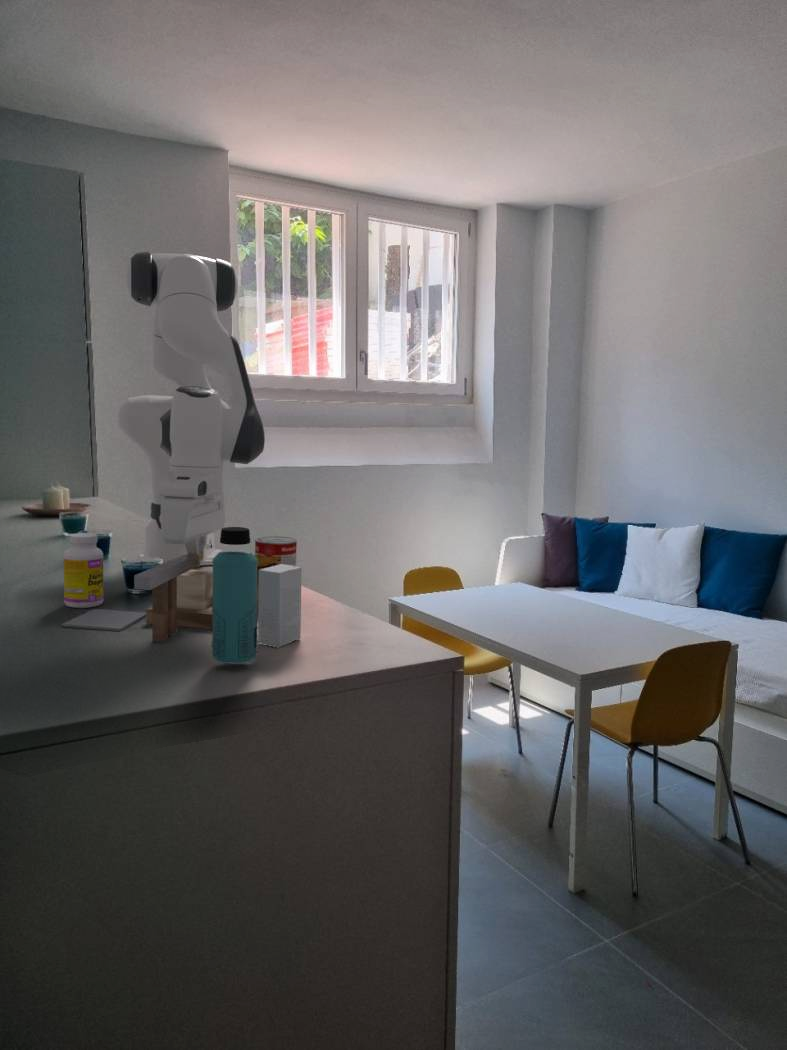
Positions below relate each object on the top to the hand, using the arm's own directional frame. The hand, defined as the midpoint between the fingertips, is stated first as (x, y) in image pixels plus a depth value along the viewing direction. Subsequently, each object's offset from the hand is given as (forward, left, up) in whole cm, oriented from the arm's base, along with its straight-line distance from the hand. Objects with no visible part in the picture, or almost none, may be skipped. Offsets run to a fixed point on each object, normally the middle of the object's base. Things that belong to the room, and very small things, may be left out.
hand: (195, 562), depth 128 cm
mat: (+6, -13, -10) cm, 18 cm away
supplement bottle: (-3, -22, -10) cm, 24 cm away
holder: (+5, 0, -10) cm, 11 cm away
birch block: (0, 0, -10) cm, 10 cm away
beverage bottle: (+23, +15, -10) cm, 29 cm away
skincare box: (+10, +18, -10) cm, 23 cm away
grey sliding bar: (+11, 0, 0) cm, 11 cm away
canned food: (-16, +10, -10) cm, 21 cm away
